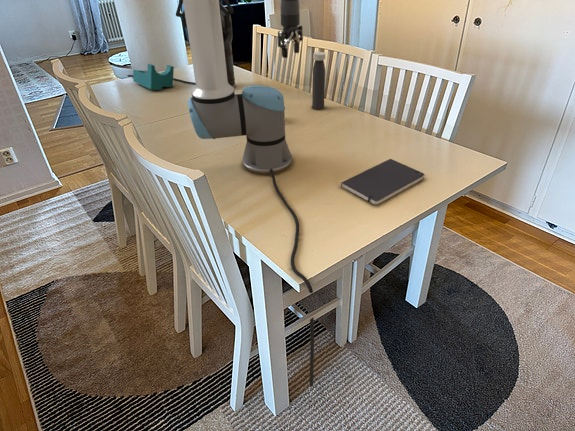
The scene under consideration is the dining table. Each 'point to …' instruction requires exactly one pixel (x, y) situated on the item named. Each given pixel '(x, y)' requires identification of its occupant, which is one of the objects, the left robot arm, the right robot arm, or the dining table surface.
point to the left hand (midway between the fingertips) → (290, 55)
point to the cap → (319, 56)
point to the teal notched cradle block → (154, 77)
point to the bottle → (318, 85)
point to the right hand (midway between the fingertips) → (208, 36)
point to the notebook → (382, 181)
